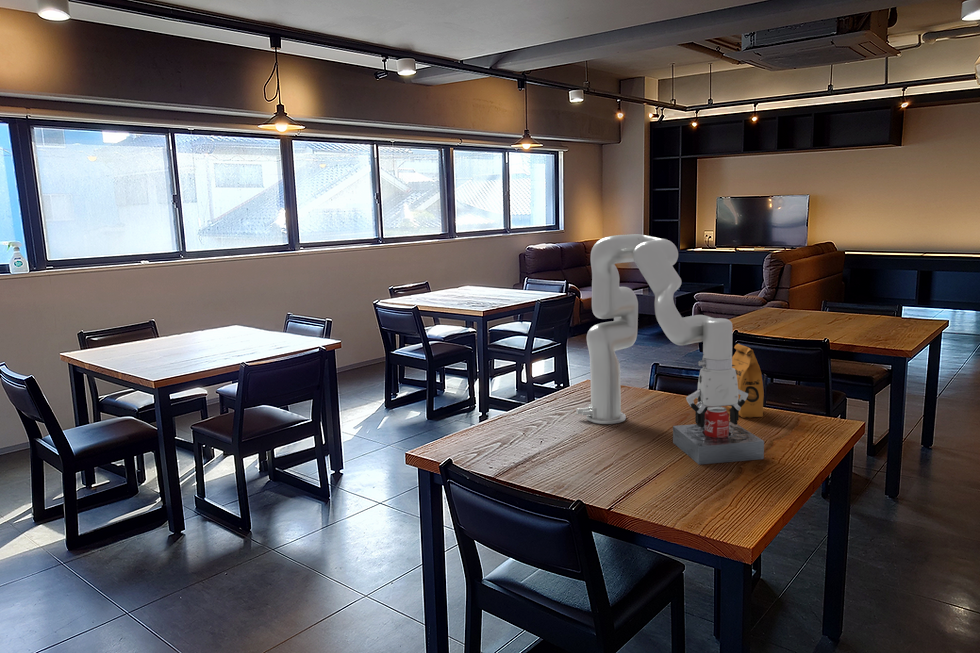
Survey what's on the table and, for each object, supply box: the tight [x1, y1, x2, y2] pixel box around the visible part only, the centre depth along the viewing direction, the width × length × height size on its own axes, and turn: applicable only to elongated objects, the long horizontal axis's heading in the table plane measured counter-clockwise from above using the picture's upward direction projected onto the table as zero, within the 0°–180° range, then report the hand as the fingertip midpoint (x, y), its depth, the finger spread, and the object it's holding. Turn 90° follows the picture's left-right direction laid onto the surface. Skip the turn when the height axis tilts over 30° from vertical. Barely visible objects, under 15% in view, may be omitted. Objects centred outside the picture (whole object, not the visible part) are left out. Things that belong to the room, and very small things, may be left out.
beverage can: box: [705, 406, 730, 438], centre depth 189 cm, size 6×6×12 cm
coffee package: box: [726, 343, 765, 419], centre depth 221 cm, size 10×12×22 cm
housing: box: [672, 421, 765, 466], centre depth 189 cm, size 18×18×5 cm
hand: (716, 424), depth 188 cm, fingers open, 9 cm apart
